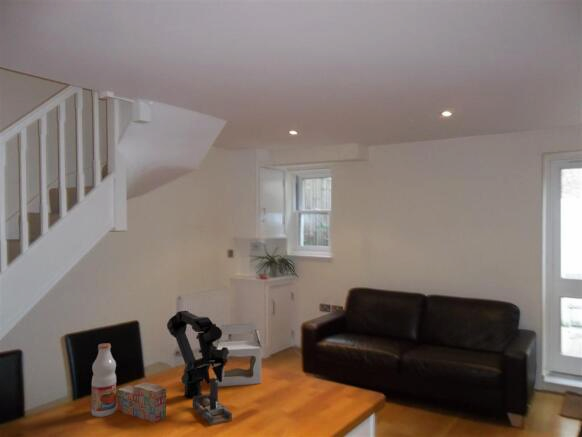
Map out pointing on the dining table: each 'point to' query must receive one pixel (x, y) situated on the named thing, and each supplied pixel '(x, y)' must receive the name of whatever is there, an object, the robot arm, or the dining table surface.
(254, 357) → the gable box
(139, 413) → the stack of blocks
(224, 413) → the press base
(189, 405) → the dining table surface
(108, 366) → the fruit juice
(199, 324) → the robot arm
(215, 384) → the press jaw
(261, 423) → the dining table surface
